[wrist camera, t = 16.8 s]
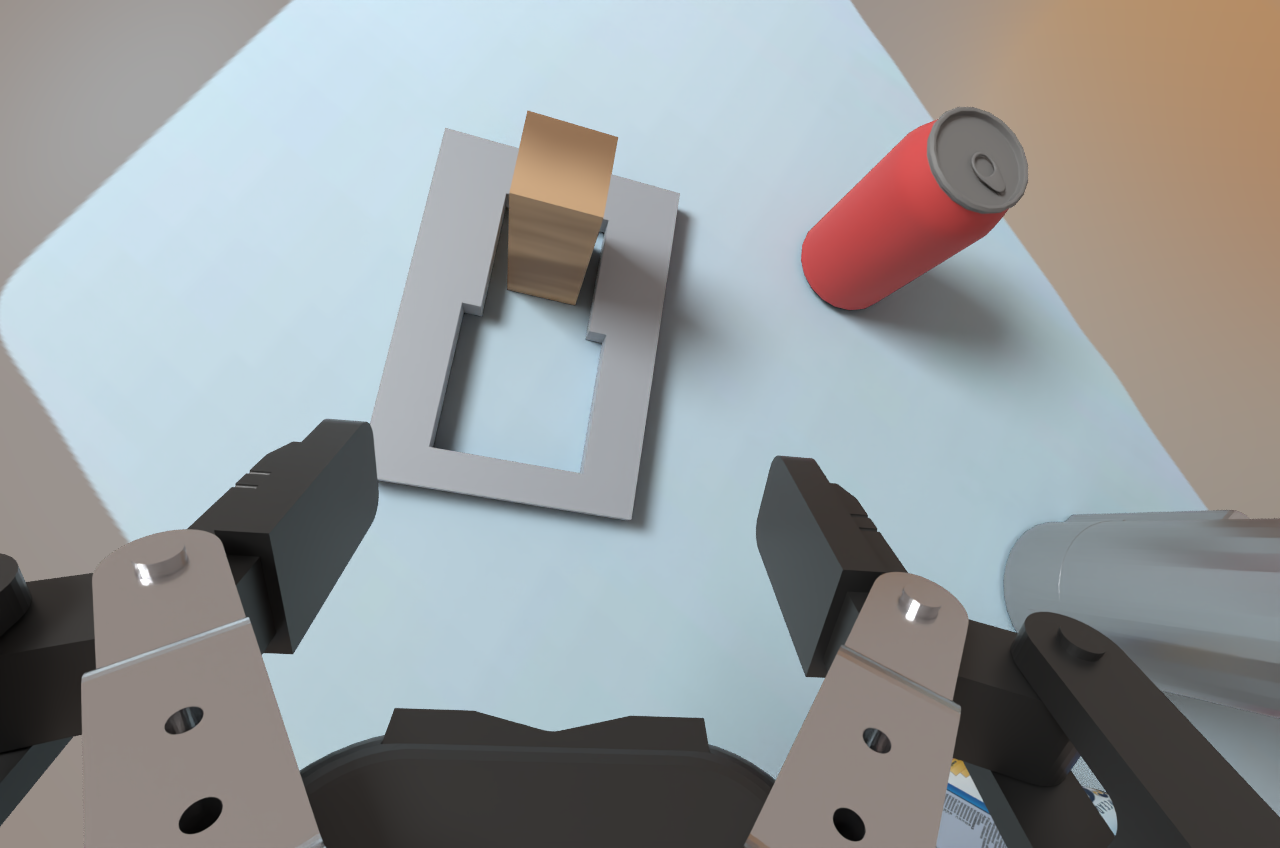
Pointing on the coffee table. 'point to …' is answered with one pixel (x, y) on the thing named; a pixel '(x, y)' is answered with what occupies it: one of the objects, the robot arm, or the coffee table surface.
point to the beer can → (916, 208)
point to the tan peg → (556, 206)
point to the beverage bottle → (987, 813)
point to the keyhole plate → (458, 283)
